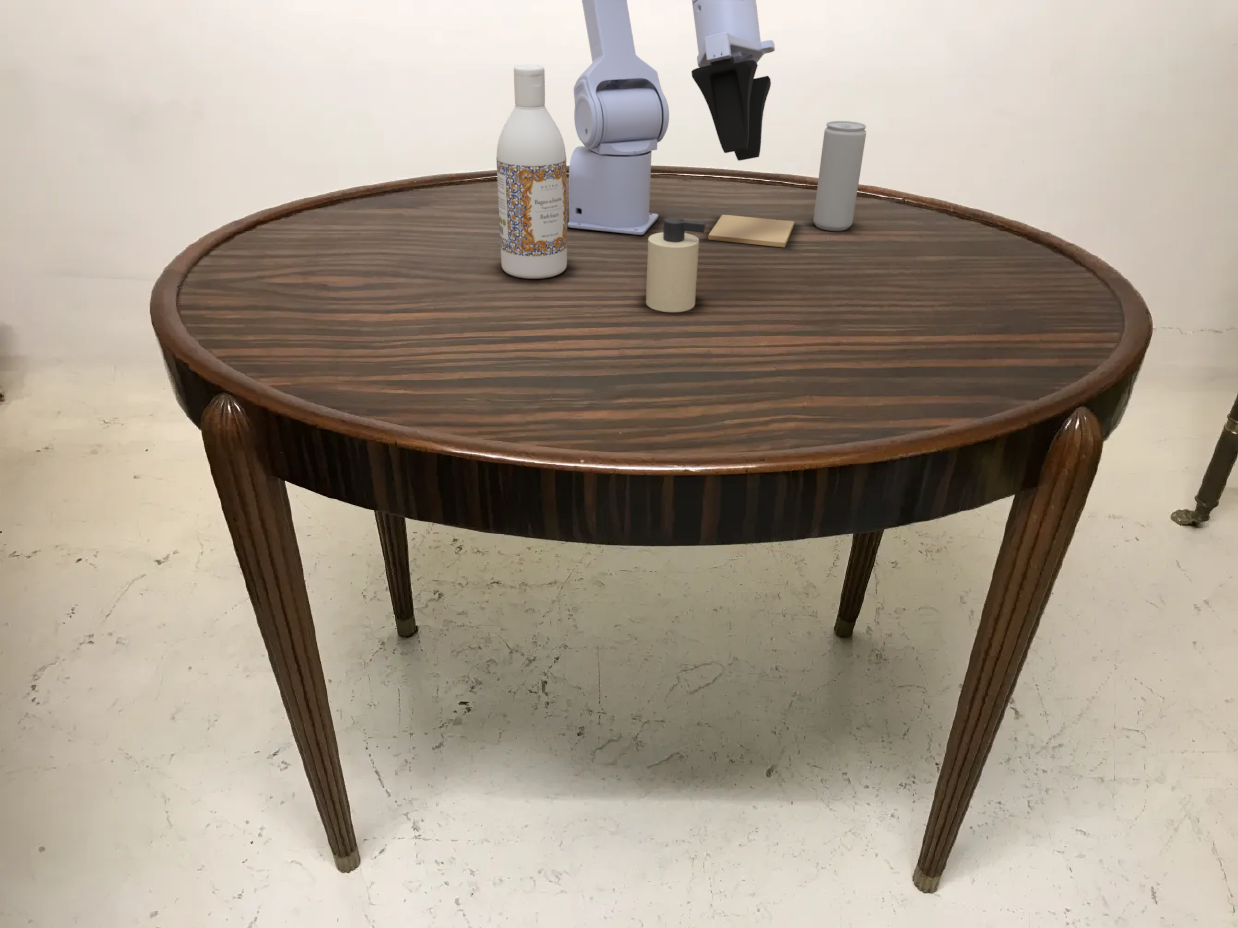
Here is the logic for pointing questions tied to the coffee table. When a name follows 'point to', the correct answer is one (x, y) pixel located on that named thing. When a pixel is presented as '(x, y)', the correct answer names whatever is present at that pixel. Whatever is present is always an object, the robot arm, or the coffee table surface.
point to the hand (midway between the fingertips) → (742, 155)
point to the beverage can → (839, 175)
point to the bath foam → (532, 183)
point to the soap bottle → (673, 266)
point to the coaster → (752, 230)
